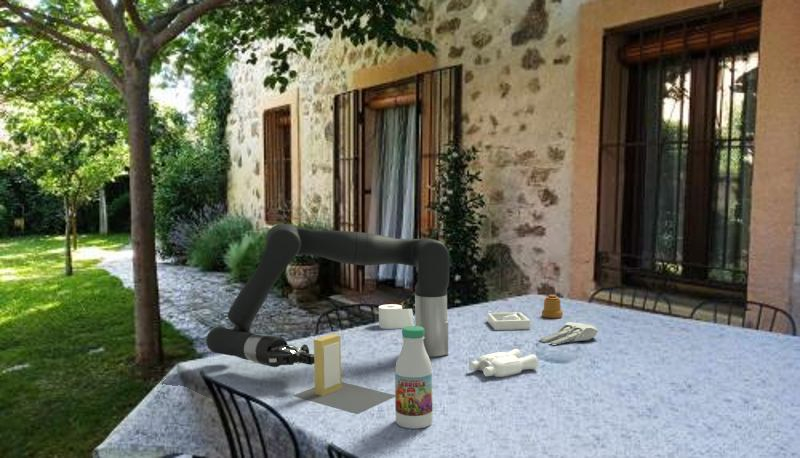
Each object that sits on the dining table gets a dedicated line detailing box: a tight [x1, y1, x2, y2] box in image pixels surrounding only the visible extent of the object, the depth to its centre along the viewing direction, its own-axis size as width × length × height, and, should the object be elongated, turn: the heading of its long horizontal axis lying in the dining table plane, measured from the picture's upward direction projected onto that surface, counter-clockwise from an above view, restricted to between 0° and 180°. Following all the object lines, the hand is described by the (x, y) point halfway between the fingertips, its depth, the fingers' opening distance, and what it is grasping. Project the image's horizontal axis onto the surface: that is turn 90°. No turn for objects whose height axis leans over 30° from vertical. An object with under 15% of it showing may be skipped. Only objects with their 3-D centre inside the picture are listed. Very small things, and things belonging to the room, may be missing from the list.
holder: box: [486, 311, 531, 331], centre depth 215 cm, size 12×13×3 cm
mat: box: [292, 381, 395, 415], centre depth 145 cm, size 20×14×1 cm
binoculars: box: [468, 348, 539, 378], centre depth 163 cm, size 10×16×5 cm, turn 121°
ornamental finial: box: [541, 294, 564, 319], centre depth 227 cm, size 8×8×8 cm
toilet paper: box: [378, 303, 414, 330], centre depth 216 cm, size 8×11×7 cm
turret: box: [538, 321, 599, 345], centre depth 194 cm, size 10×20×5 cm, turn 118°
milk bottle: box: [394, 325, 434, 430], centre depth 128 cm, size 8×8×20 cm
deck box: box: [313, 333, 342, 396], centre depth 147 cm, size 3×6×13 cm, turn 143°
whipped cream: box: [503, 312, 521, 320], centre depth 214 cm, size 8×7×5 cm
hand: (313, 360), depth 149 cm, fingers closed
